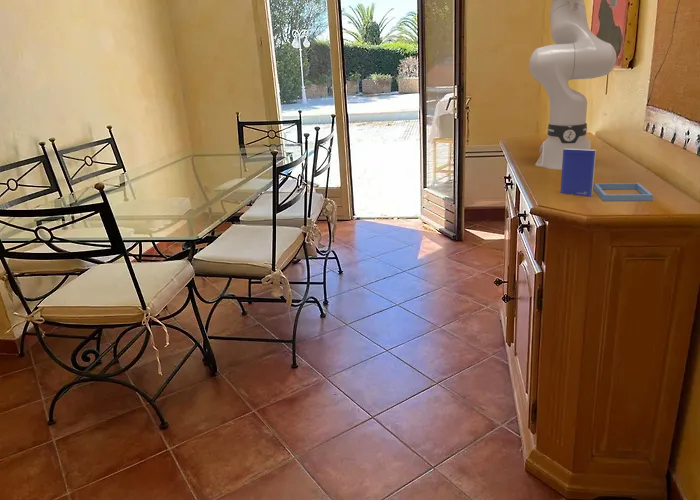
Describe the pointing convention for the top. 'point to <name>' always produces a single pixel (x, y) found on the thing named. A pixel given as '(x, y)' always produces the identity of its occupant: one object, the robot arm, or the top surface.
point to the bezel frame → (643, 196)
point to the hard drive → (578, 172)
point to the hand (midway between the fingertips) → (593, 8)
